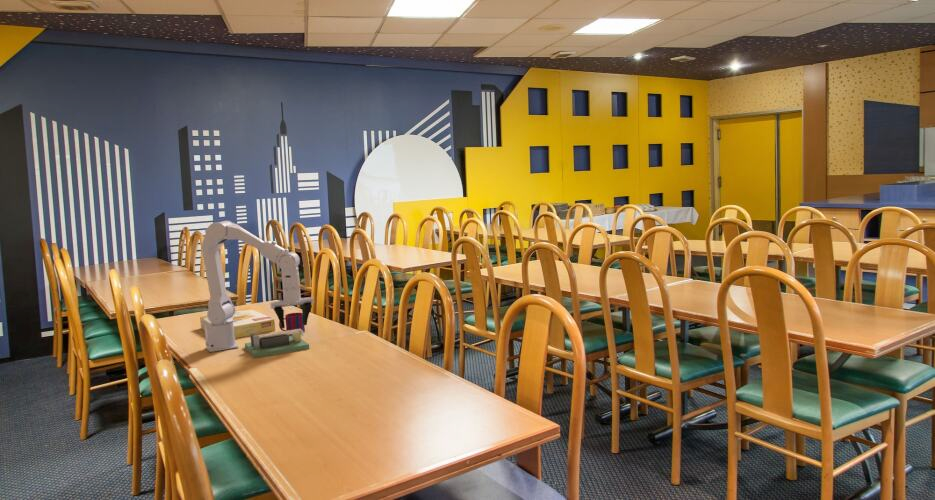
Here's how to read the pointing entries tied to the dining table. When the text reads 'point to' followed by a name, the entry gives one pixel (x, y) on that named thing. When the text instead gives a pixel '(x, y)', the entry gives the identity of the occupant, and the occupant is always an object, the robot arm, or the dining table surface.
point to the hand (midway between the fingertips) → (294, 326)
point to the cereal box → (247, 322)
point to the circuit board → (277, 348)
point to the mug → (293, 322)
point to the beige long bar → (281, 333)
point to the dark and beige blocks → (272, 340)
